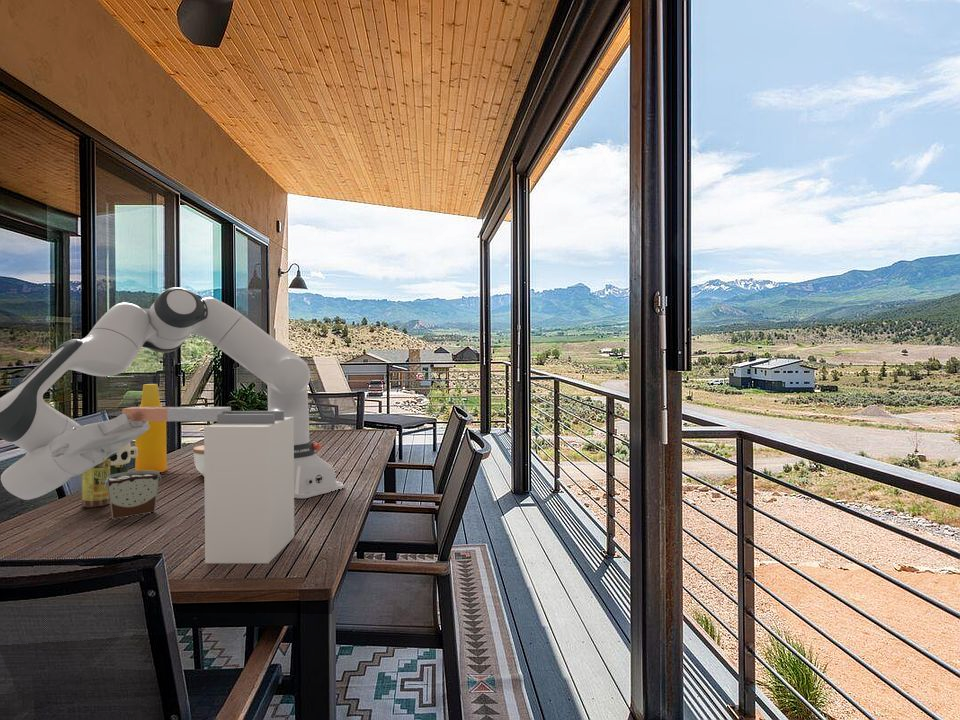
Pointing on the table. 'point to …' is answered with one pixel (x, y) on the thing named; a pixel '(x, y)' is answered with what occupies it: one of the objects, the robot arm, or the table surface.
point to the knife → (175, 413)
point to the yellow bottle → (152, 436)
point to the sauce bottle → (96, 485)
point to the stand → (248, 486)
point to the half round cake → (132, 492)
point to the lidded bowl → (199, 458)
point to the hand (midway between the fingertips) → (141, 414)
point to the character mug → (122, 459)
